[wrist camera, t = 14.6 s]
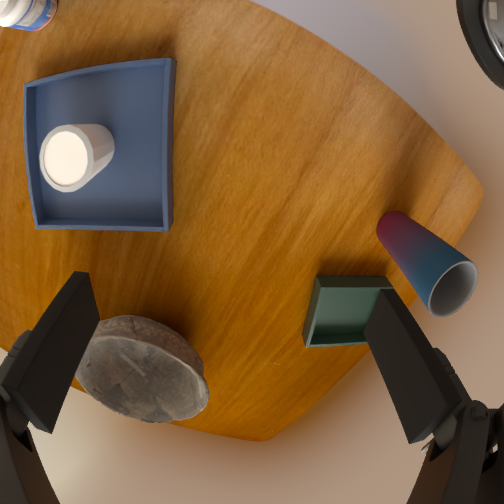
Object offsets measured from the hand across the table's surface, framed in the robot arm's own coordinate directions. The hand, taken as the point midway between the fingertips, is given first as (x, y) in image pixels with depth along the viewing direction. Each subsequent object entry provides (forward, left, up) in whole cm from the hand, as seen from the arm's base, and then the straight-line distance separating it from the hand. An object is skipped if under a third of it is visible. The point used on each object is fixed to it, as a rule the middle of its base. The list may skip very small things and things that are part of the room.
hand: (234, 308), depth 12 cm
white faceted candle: (+17, -4, -23) cm, 28 cm away
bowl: (+13, +26, -23) cm, 37 cm away
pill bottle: (+27, -24, -23) cm, 43 cm away
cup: (-22, +5, -23) cm, 32 cm away
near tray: (+17, -4, -23) cm, 29 cm away
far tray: (-17, +18, -23) cm, 34 cm away
